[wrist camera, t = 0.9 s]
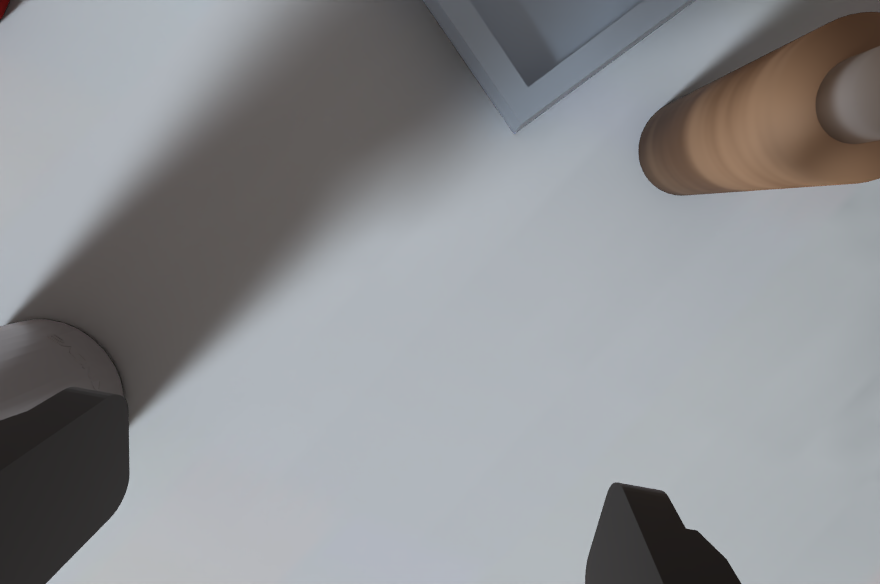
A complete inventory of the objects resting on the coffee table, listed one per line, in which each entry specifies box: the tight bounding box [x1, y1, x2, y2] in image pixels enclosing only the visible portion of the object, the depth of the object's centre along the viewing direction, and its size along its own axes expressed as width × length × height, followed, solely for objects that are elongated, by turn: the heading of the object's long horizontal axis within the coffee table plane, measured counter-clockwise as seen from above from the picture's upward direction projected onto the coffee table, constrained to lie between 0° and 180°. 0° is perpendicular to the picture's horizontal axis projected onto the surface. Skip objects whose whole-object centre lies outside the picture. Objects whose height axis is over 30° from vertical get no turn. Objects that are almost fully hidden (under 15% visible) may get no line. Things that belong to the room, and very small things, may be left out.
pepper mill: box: [639, 12, 880, 195], centre depth 21 cm, size 5×5×14 cm
